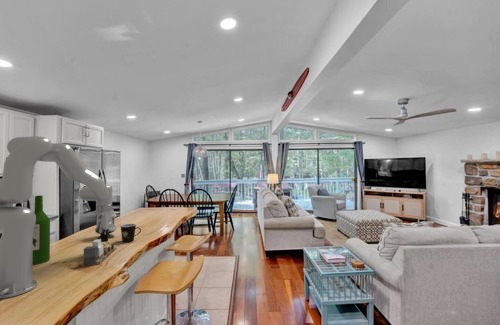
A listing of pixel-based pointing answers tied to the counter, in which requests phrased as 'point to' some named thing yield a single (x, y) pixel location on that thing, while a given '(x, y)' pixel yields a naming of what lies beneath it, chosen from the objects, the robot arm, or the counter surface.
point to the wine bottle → (41, 234)
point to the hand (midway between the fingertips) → (104, 241)
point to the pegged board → (96, 254)
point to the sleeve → (100, 247)
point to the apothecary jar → (109, 228)
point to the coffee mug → (128, 232)
